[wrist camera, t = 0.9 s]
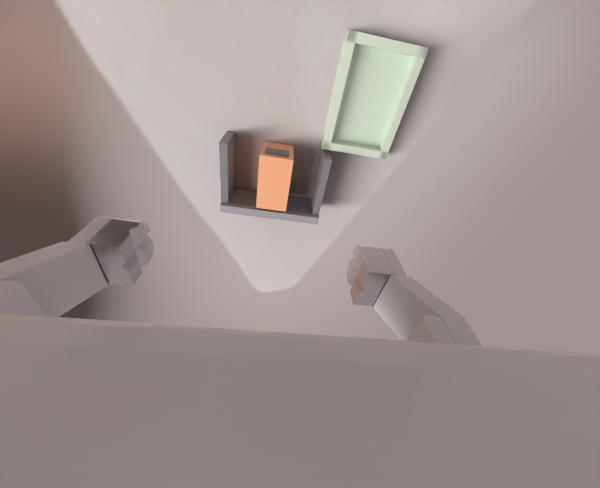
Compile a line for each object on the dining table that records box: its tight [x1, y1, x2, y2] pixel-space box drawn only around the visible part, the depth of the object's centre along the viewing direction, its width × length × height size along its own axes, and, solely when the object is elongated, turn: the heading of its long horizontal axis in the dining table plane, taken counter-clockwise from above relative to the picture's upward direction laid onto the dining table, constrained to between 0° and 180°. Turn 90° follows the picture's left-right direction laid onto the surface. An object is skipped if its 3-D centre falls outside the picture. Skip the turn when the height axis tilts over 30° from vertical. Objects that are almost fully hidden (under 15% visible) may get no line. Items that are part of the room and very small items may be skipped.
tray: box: [321, 30, 429, 159], centre depth 33 cm, size 13×10×2 cm
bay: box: [219, 131, 332, 224], centre depth 37 cm, size 10×15×6 cm
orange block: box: [256, 141, 294, 212], centre depth 37 cm, size 8×4×6 cm, turn 170°
